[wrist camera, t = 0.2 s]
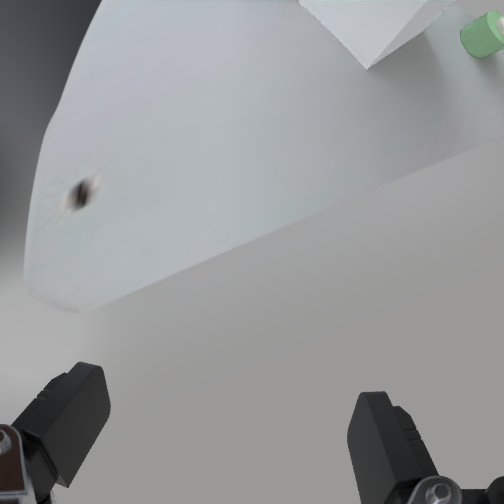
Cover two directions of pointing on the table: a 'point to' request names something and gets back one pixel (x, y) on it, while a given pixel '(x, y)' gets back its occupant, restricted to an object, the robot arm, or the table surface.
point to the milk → (375, 23)
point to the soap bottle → (484, 35)
